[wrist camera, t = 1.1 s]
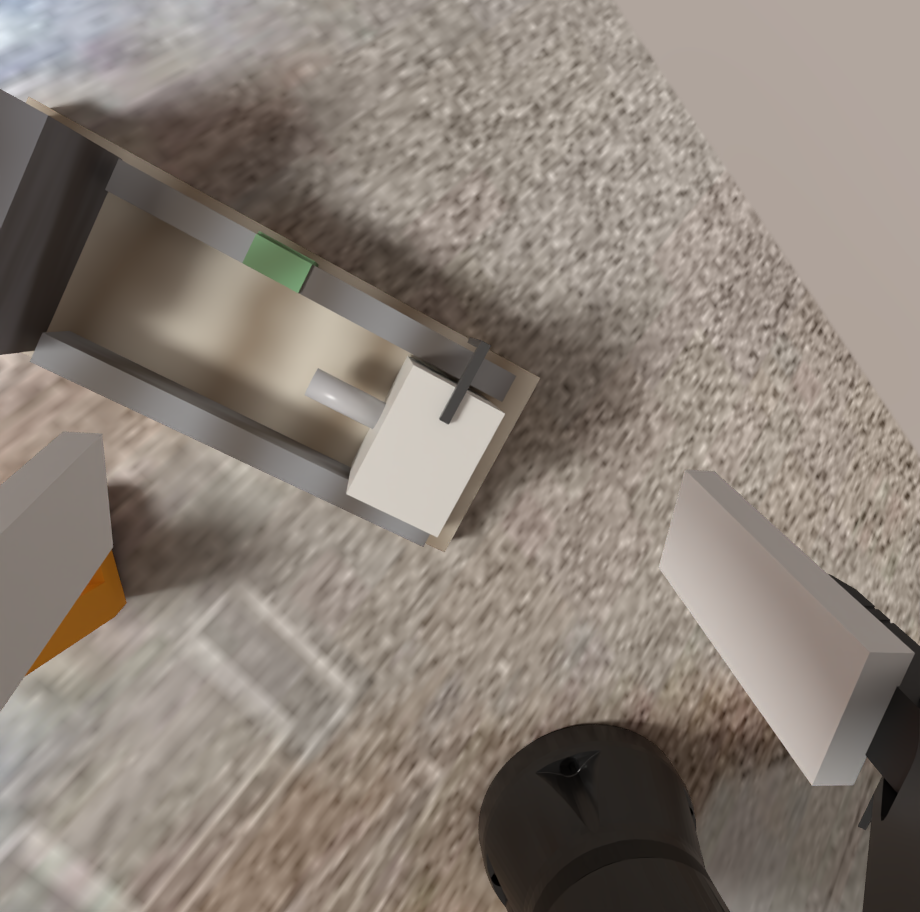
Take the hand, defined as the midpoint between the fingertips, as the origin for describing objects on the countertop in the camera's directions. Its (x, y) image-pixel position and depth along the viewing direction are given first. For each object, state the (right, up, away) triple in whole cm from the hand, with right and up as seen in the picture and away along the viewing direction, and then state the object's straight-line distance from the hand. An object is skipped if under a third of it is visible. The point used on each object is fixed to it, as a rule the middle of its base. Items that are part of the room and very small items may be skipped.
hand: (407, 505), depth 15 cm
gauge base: (-10, +8, +24) cm, 27 cm away
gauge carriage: (-2, +5, +23) cm, 24 cm away
